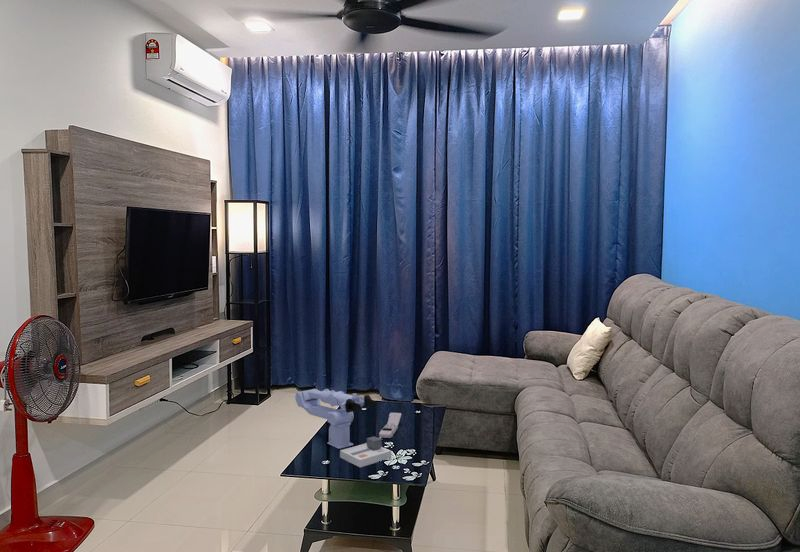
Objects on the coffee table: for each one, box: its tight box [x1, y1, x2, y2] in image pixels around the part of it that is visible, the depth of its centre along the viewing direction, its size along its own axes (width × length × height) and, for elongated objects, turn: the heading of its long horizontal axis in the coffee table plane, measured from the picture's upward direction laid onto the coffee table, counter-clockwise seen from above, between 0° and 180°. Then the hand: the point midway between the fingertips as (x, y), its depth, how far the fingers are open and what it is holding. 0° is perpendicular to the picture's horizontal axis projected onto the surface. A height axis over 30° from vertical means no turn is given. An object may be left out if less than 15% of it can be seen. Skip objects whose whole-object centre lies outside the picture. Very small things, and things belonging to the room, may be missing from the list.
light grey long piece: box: [378, 412, 402, 439], centre depth 273 cm, size 6×6×25 cm
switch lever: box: [366, 436, 383, 450], centre depth 243 cm, size 4×5×4 cm
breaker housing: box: [339, 442, 392, 468], centre depth 240 cm, size 16×14×3 cm
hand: (367, 405), depth 239 cm, fingers open, 7 cm apart
